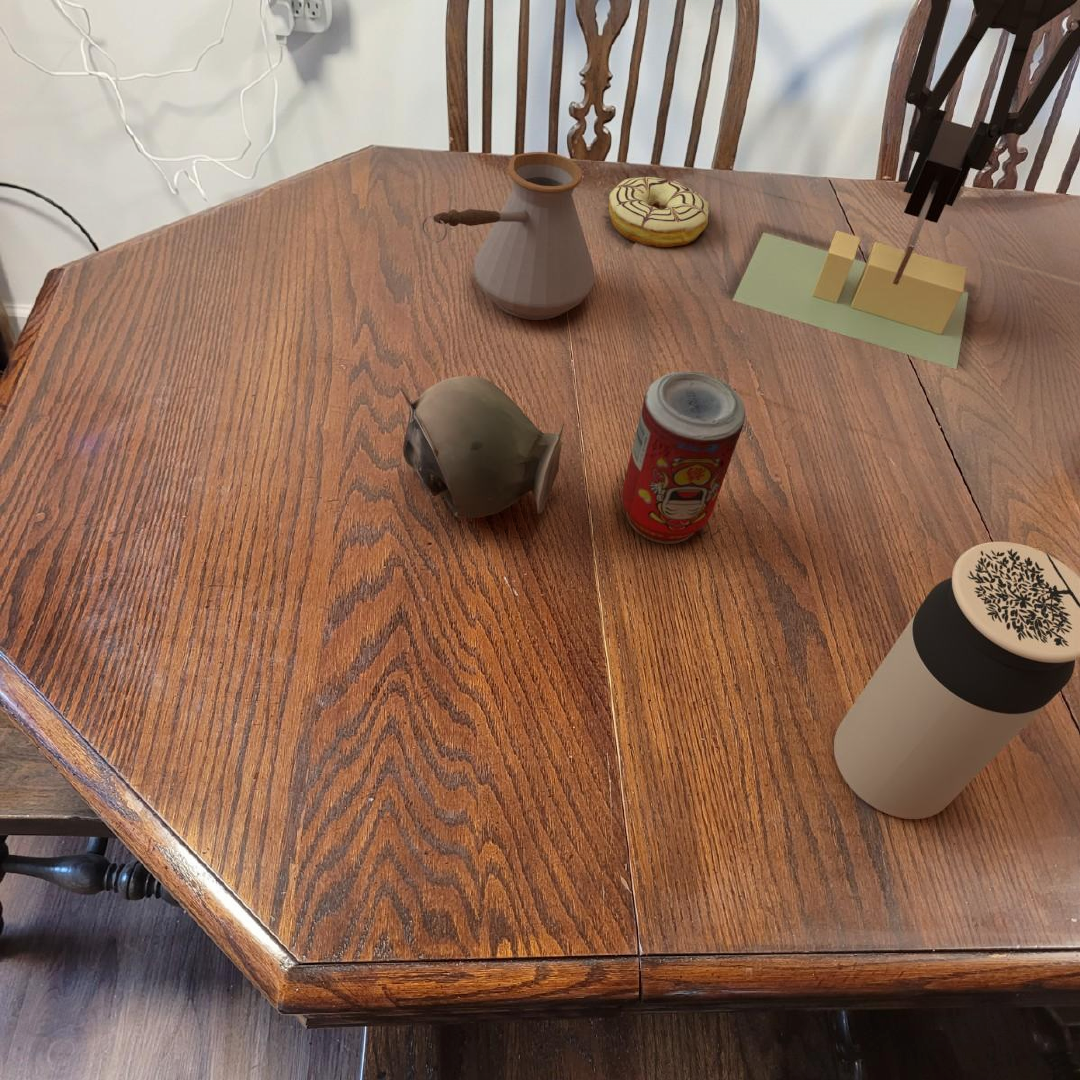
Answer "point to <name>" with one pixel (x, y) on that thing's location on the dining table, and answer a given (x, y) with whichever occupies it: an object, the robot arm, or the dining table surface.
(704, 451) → the soda can
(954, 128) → the knife
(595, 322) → the dining table surface
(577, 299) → the coffee pot
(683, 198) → the decorated donut
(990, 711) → the travel mug
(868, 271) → the butter block
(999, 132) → the robot arm
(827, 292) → the butter slice
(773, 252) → the butter board
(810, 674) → the dining table surface
